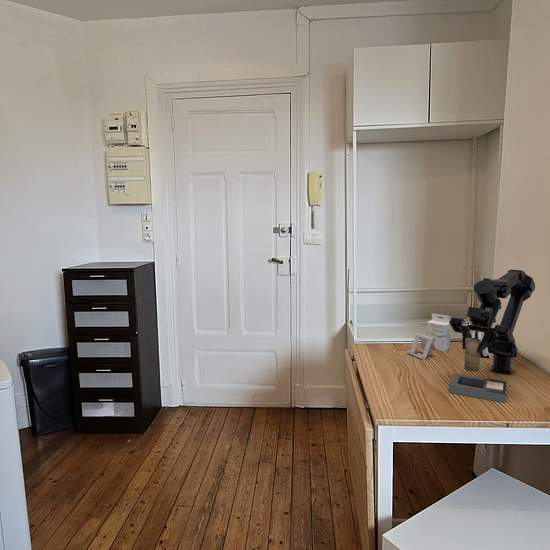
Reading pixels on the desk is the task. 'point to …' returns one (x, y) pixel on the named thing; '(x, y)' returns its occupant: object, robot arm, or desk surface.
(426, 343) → the portable electronic device stand
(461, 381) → the hole plate
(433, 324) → the ink cartridge box
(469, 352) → the walnut peg
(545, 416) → the desk surface
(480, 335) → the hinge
